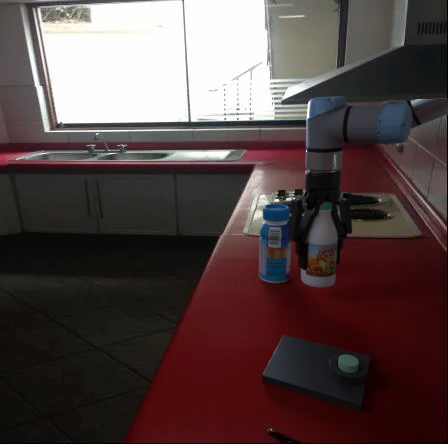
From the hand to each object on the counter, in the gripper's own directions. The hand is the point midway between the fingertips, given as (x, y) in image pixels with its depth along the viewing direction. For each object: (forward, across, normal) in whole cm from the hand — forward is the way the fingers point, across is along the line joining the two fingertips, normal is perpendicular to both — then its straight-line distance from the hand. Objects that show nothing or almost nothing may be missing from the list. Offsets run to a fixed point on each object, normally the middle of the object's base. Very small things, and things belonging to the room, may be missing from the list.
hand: (318, 265), depth 99 cm
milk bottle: (+4, 0, 0) cm, 4 cm away
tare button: (+6, +11, +28) cm, 31 cm away
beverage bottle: (+9, +4, -14) cm, 17 cm away
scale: (+9, +15, +24) cm, 30 cm away
